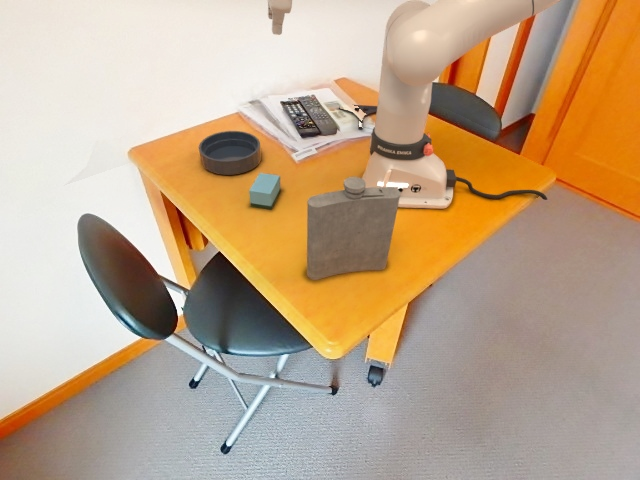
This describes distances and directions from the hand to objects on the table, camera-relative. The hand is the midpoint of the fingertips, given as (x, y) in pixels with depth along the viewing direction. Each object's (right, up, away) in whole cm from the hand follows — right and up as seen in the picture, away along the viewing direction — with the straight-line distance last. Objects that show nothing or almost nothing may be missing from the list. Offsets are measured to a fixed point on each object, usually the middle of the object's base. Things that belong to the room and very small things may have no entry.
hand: (274, 25), depth 78 cm
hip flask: (+14, -48, 0) cm, 50 cm away
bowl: (-14, -21, +28) cm, 38 cm away
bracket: (+22, -4, +48) cm, 53 cm away
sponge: (-4, -32, +16) cm, 36 cm away
